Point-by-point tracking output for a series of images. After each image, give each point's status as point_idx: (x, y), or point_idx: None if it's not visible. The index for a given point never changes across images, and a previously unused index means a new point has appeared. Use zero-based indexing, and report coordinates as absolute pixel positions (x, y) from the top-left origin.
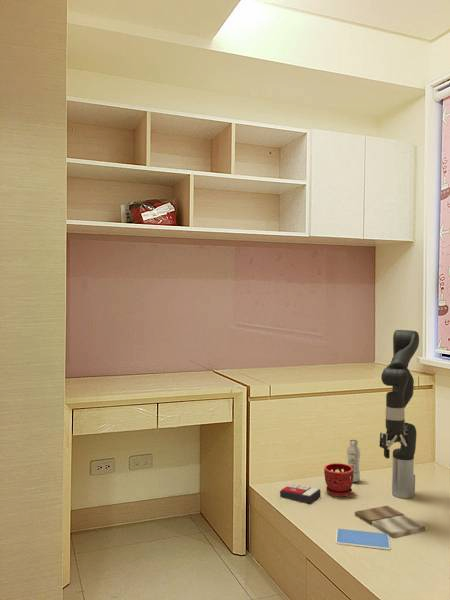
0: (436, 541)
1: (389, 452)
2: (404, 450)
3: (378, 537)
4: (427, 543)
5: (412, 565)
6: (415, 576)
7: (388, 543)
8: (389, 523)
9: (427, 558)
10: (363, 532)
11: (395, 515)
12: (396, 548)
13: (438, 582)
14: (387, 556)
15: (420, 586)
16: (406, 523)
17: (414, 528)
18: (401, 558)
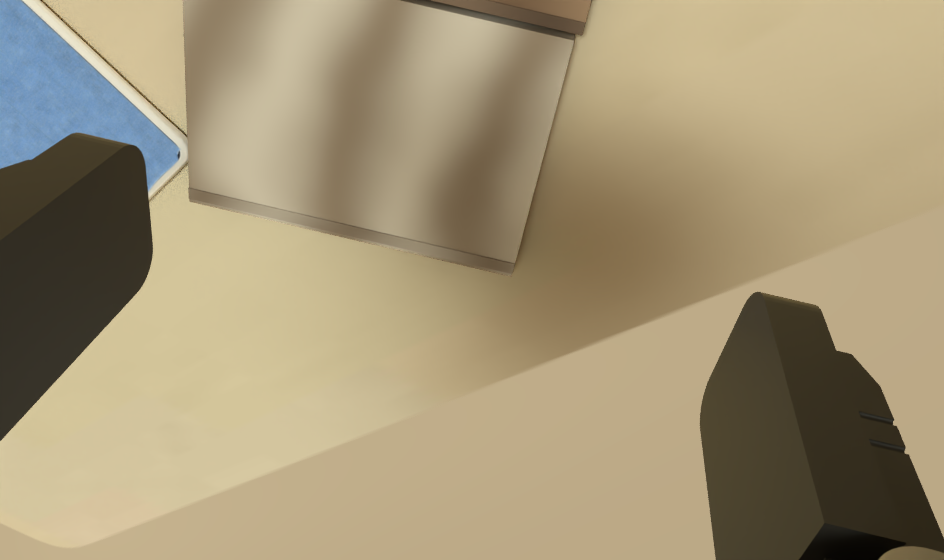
0: (427, 367)
1: (41, 391)
2: (723, 537)
3: None
4: (354, 349)
5: (88, 408)
6: (38, 453)
7: None
8: (299, 77)
9: (212, 419)
10: (20, 24)
11: (484, 3)
12: None
13: (103, 517)
14: None
15: (9, 491)
16: (428, 161)
17: (405, 245)
18: None
